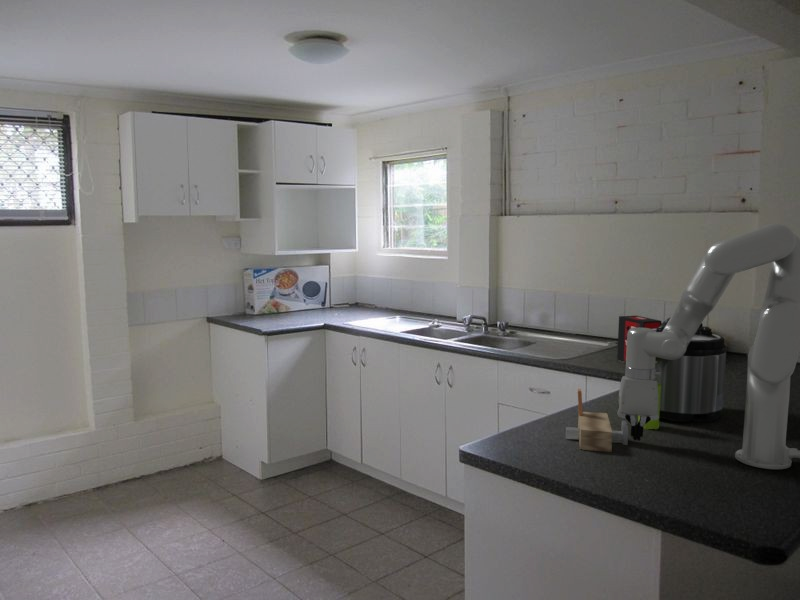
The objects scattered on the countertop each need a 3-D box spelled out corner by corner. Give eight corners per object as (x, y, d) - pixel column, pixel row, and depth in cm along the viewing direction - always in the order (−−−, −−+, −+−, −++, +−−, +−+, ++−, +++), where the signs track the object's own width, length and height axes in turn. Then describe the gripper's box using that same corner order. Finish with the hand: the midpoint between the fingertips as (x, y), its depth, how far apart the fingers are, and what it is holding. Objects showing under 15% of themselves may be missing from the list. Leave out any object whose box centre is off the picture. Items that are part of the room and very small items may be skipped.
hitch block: (606, 431, 194) (607, 413, 193) (611, 451, 176) (612, 432, 176) (577, 429, 195) (578, 411, 195) (580, 449, 178) (580, 429, 177)
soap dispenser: (638, 421, 203) (641, 357, 201) (661, 426, 199) (664, 360, 196) (631, 426, 199) (634, 360, 196) (654, 431, 194) (658, 363, 192)
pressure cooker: (691, 399, 230) (696, 308, 226) (746, 423, 202) (753, 320, 199) (610, 402, 225) (613, 309, 221) (655, 428, 197) (660, 321, 194)
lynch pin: (625, 438, 186) (626, 420, 186) (627, 444, 181) (628, 426, 181) (565, 434, 190) (566, 416, 189) (565, 440, 185) (566, 421, 184)
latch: (581, 388, 192) (577, 388, 193) (581, 391, 190) (577, 391, 190) (582, 412, 193) (578, 412, 193) (582, 415, 190) (579, 415, 191)
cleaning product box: (659, 368, 279) (661, 320, 277) (641, 369, 277) (643, 321, 275) (634, 360, 295) (636, 315, 293) (617, 361, 292) (619, 316, 290)
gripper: (667, 372, 183) (663, 436, 185) (610, 368, 186) (607, 432, 189) (671, 378, 176) (667, 445, 178) (612, 374, 179) (609, 441, 181)
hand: (636, 438), depth 183 cm, fingers closed
